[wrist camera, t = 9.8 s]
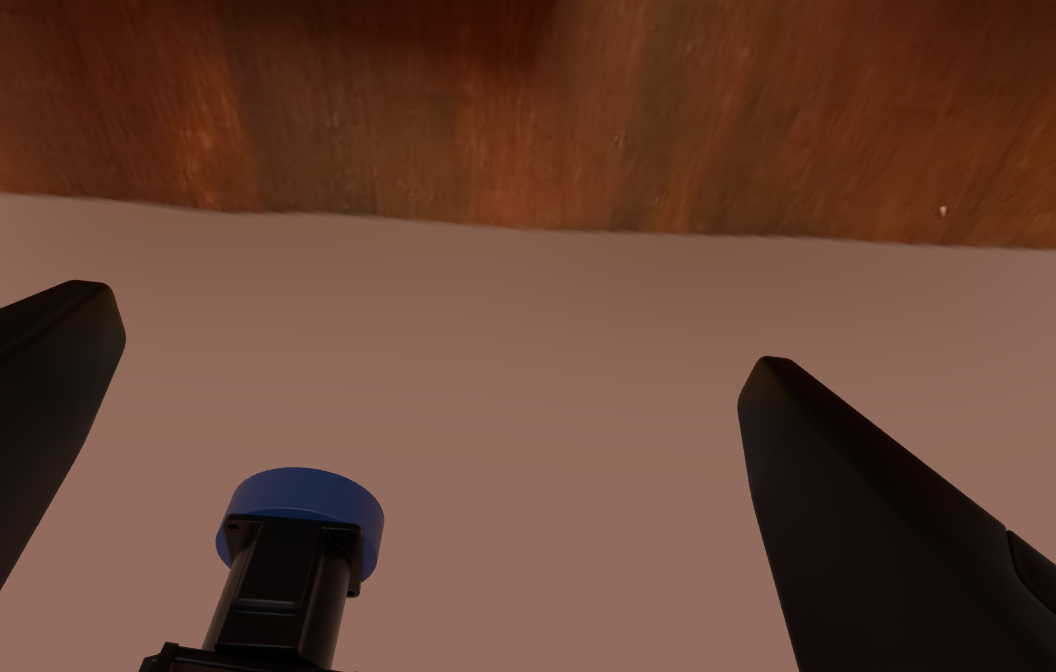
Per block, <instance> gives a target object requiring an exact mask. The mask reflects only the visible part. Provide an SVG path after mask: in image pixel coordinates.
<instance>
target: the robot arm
mask: <svg viewBox="0 0 1056 672" xmlns="http://www.w3.org/2000/svg"><path fill="white" fill-rule="evenodd" d="M125 342H126V334H125V329H124V326H123V323H122V319H121V316H120V313H119V310H118V307H117V303H116V300H115V296H114V294H113V292H112V289H111V288H110V287H109V286H108V285H106V284H104V283H100V282H91V281H83V280H70V281H67V282H65V283H62V284H60V285H57V286H55V287H52V288H50V289H47V290H45V291H42V292H40V293H37V294H35V295H32V296H30V297H27V298H25V299H23V300H20V301H18V302H16V303H13V304H10V305H8V306H5V307H3V308H0V590H1V588H2V587H3V585H4V583H5V581H6V580H7V578H8V576H9V574H10V573H11V571H12V569H13V568H14V566H15V564H16V562H17V560H18V559H19V557H20V555H21V554H22V552H23V550H24V548H25V547H26V545H27V543H28V541H29V539H30V538H31V536H32V534H33V533H34V531H35V529H36V527H37V526H38V524H39V522H40V520H41V519H42V517H43V515H44V514H45V512H46V510H47V508H48V507H49V505H50V503H51V501H52V500H53V498H54V496H55V494H56V493H57V491H58V489H59V487H60V486H61V484H62V482H63V480H64V479H65V477H66V475H67V473H68V472H69V470H70V468H71V466H72V465H73V463H74V461H75V459H76V458H77V456H78V454H79V452H80V450H81V448H82V446H83V444H84V442H85V440H86V438H87V436H88V433H89V431H90V429H91V427H92V424H93V422H94V420H95V417H96V415H97V412H98V410H99V408H100V405H101V403H102V401H103V398H104V396H105V393H106V391H107V389H108V386H109V384H110V382H111V379H112V377H113V374H114V372H115V370H116V368H117V365H118V363H119V360H120V358H121V356H122V353H123V350H124V348H125ZM737 409H738V417H739V423H740V430H741V436H742V442H743V449H744V455H745V461H746V468H747V474H748V480H749V487H750V492H751V497H752V501H753V506H754V510H755V514H756V517H757V521H758V525H759V528H760V532H761V535H762V539H763V543H764V546H765V550H766V553H767V557H768V561H769V564H770V567H771V571H772V575H773V579H774V582H775V586H776V589H777V593H778V597H779V600H780V604H781V608H782V611H783V615H784V618H785V622H786V625H787V629H788V633H789V636H790V640H791V644H792V647H793V651H794V654H795V658H796V661H797V665H798V669H799V672H1056V565H1055V564H1054V563H1053V562H1051V561H1050V560H1049V559H1047V558H1046V557H1045V556H1043V555H1042V554H1041V553H1039V552H1038V551H1037V550H1035V549H1034V548H1033V547H1032V546H1030V545H1029V544H1028V543H1027V542H1025V541H1024V540H1022V539H1021V538H1020V537H1019V536H1017V535H1016V534H1015V533H1014V532H1012V531H1009V530H1008V531H1006V528H1005V526H1004V525H1003V524H1002V523H1001V522H999V521H998V520H997V519H996V518H994V517H993V516H992V515H990V514H989V513H988V512H986V511H985V510H984V509H983V508H981V507H980V506H979V505H977V504H976V503H975V502H974V501H972V500H971V499H970V498H968V497H967V496H965V494H963V493H962V492H961V491H959V490H958V489H957V488H955V487H954V486H953V485H952V484H950V483H949V482H948V481H947V480H945V479H944V478H943V477H941V476H940V475H939V474H937V473H936V472H935V471H934V470H932V469H931V468H930V467H928V466H927V465H926V464H925V463H923V462H922V461H921V460H919V459H918V458H917V457H916V456H914V455H913V454H912V453H911V452H909V451H908V450H906V449H905V448H904V447H903V446H901V445H900V444H899V443H898V442H896V441H895V440H894V439H893V438H891V437H890V436H888V435H887V434H886V433H885V432H883V431H882V430H881V429H880V428H878V427H877V426H876V425H874V424H873V423H872V422H871V421H869V420H868V419H867V418H865V417H864V416H863V415H862V414H860V413H859V412H858V411H856V410H855V409H854V408H853V407H851V406H850V405H849V404H847V403H846V402H845V401H844V400H842V399H841V398H840V397H838V396H837V395H836V394H835V393H833V392H832V391H831V390H829V389H828V388H827V387H826V386H824V385H823V384H822V383H820V382H819V381H818V380H816V379H815V378H814V377H813V376H811V375H810V374H809V373H808V372H806V371H805V370H804V369H802V368H801V367H800V366H799V365H797V364H796V363H795V362H793V361H792V360H790V359H787V358H780V357H771V356H764V357H761V358H760V359H759V360H758V361H757V362H756V364H755V366H754V368H753V370H752V372H751V374H750V376H749V377H748V379H747V381H746V383H745V385H744V387H743V389H742V391H741V393H740V395H739V399H738V405H737ZM223 530H224V535H225V539H226V544H227V549H228V553H229V558H230V563H231V571H230V573H229V576H228V578H227V581H226V584H225V587H224V589H223V592H222V594H221V597H220V600H219V602H218V605H217V608H216V611H215V613H214V616H213V619H212V621H211V624H210V627H209V630H208V632H207V635H206V637H205V640H204V643H203V646H202V648H201V649H195V648H188V647H182V646H179V644H178V643H172V642H165V644H164V646H163V648H162V650H161V652H160V653H158V655H154V656H150V657H145V658H144V660H143V662H142V665H141V668H140V670H139V672H341V671H335V670H331V666H332V661H333V657H334V652H335V647H336V642H337V638H338V633H339V628H340V624H341V619H342V614H343V609H344V605H345V600H346V597H347V598H354V597H357V596H359V594H360V589H361V567H362V534H363V530H362V527H361V526H359V525H357V524H353V523H343V522H331V521H319V520H307V519H296V518H284V517H272V516H260V515H248V514H237V513H231V514H228V515H227V516H226V517H225V520H224V522H223Z"/></svg>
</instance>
